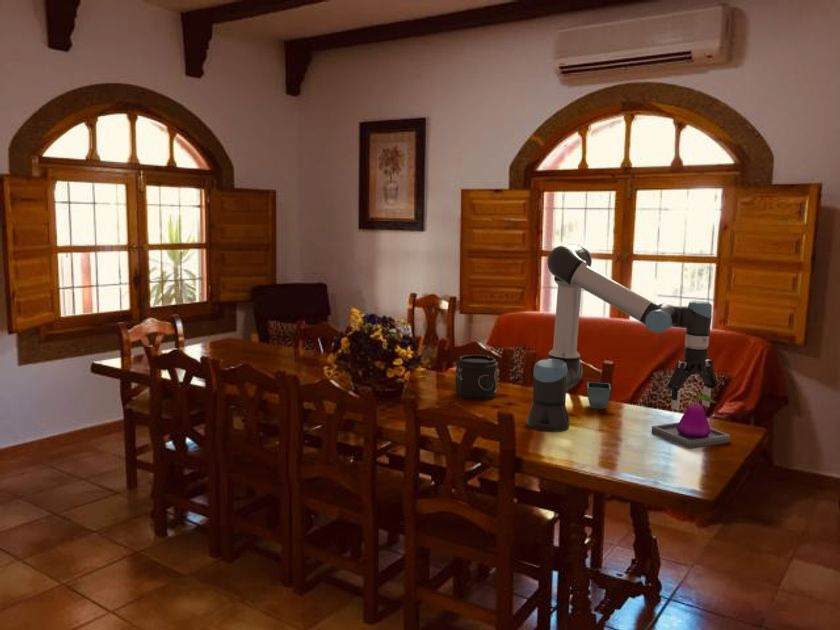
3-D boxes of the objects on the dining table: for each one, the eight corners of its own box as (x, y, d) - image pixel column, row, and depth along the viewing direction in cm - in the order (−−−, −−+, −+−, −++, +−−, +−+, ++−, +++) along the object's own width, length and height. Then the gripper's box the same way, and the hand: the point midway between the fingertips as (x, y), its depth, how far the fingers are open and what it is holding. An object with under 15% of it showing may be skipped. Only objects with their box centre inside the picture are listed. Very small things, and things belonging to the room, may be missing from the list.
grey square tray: (689, 448, 237) (689, 441, 237) (651, 433, 254) (651, 426, 253) (730, 442, 245) (730, 435, 244) (690, 427, 261) (691, 420, 260)
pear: (695, 441, 240) (698, 397, 238) (669, 432, 250) (672, 390, 247) (717, 436, 246) (721, 393, 244) (691, 427, 255) (694, 386, 253)
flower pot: (609, 411, 280) (611, 388, 279) (586, 409, 282) (587, 387, 281) (608, 405, 289) (609, 383, 288) (586, 403, 291) (587, 381, 289)
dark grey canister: (505, 393, 305) (506, 357, 302) (486, 403, 290) (487, 364, 287) (468, 387, 314) (468, 352, 312) (447, 396, 299) (447, 359, 297)
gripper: (676, 351, 236) (670, 413, 239) (732, 347, 246) (726, 407, 249) (659, 346, 243) (654, 407, 246) (715, 342, 253) (709, 401, 256)
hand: (690, 407), depth 248 cm, fingers open, 13 cm apart
